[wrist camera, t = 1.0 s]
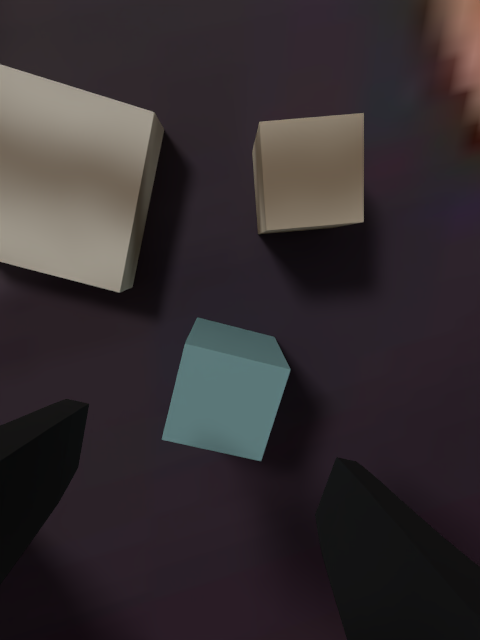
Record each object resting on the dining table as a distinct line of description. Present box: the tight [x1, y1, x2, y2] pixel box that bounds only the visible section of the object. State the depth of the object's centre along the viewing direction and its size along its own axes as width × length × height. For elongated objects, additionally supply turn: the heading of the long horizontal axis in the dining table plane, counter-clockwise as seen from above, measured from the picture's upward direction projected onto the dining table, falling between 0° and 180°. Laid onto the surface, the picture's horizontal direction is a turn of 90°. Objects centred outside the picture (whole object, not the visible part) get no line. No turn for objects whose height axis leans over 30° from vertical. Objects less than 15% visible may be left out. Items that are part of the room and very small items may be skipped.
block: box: [252, 113, 364, 234], centre depth 15 cm, size 4×4×4 cm
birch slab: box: [0, 65, 164, 293], centre depth 15 cm, size 8×8×2 cm
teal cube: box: [162, 317, 291, 461], centre depth 16 cm, size 4×4×5 cm
